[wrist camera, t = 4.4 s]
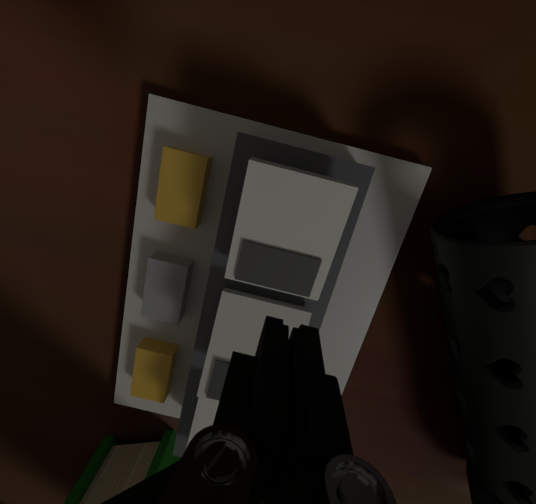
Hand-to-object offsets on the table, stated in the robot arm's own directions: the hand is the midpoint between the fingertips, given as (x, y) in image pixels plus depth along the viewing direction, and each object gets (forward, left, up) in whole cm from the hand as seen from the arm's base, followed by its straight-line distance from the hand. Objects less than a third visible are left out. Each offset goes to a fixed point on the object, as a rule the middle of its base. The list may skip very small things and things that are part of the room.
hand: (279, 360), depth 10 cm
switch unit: (+6, -1, -16) cm, 17 cm away
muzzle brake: (+6, +20, -16) cm, 26 cm away
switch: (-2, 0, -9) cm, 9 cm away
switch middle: (+6, 0, -9) cm, 10 cm away
